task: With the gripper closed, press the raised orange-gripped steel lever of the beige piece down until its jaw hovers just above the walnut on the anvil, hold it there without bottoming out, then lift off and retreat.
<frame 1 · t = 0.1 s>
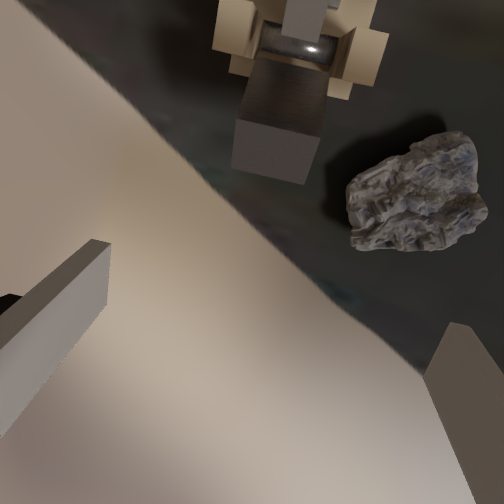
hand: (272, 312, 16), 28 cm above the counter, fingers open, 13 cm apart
rock: (404, 199, 42), on the counter
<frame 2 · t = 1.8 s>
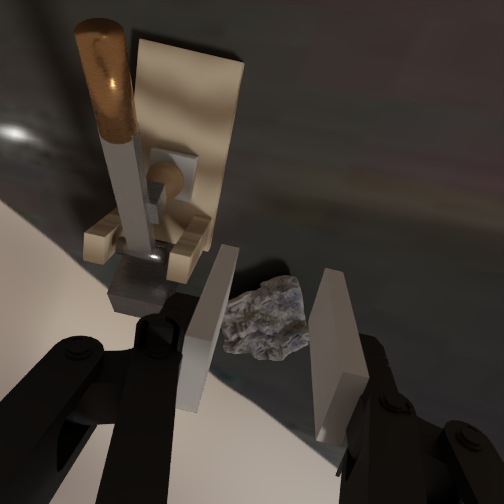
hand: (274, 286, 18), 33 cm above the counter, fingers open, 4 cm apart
lever: (134, 209, 36), point 15 cm above the counter, hinge at 34.0°
rock: (267, 313, 57), on the counter
beige piece: (180, 152, 49), on the counter
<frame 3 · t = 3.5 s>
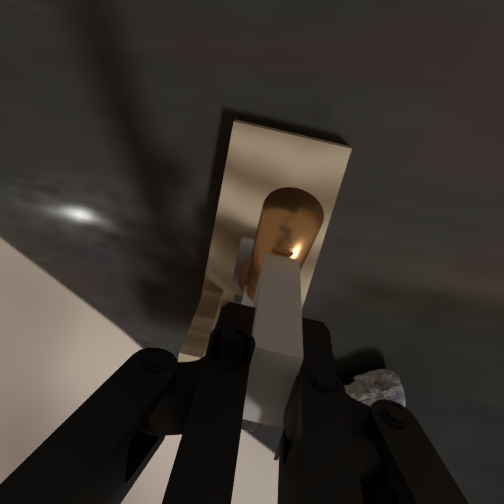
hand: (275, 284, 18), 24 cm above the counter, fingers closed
lever: (248, 339, 31), point 15 cm above the counter, hinge at 33.8°, touching gripper
rock: (354, 402, 52), on the counter
beige piece: (266, 237, 43), on the counter
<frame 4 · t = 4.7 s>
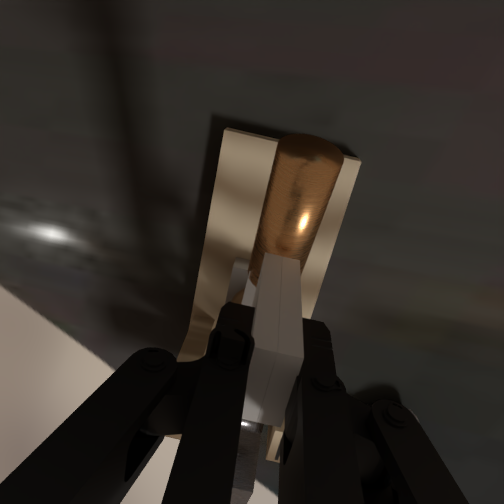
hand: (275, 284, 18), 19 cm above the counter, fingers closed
lever: (245, 367, 27), point 13 cm above the counter, hinge at 19.2°, touching gripper
beige piece: (263, 261, 38), on the counter
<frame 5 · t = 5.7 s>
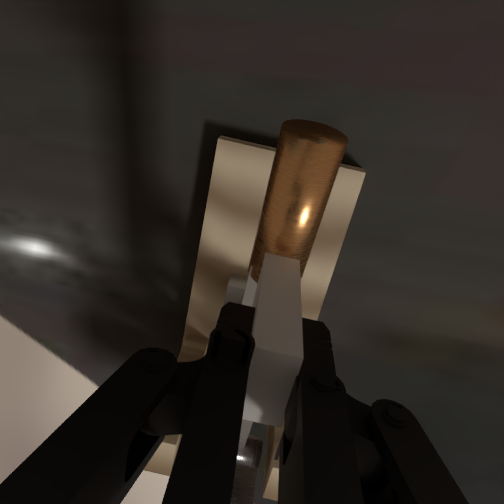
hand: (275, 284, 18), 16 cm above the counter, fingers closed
lever: (242, 386, 25), point 12 cm above the counter, hinge at 11.1°, touching gripper
beige piece: (260, 277, 36), on the counter
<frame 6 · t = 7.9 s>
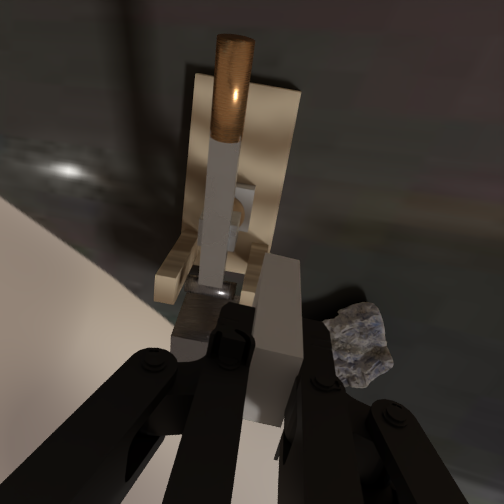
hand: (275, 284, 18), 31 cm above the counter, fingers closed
lever: (216, 230, 38), point 12 cm above the counter, hinge at 11.1°
rock: (342, 338, 57), on the counter
beige piece: (235, 182, 48), on the counter
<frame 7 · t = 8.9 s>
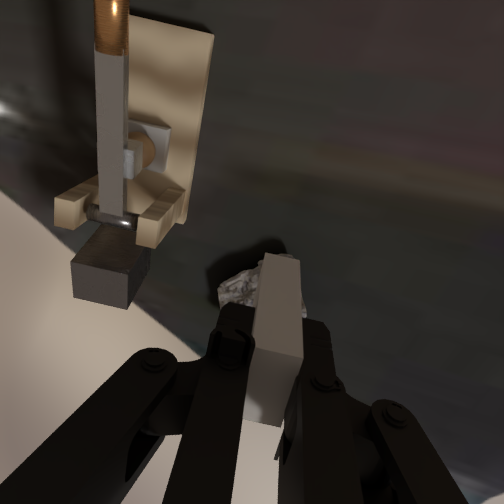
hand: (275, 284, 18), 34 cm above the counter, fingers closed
lever: (112, 154, 39), point 12 cm above the counter, hinge at 11.1°
rock: (265, 293, 58), on the counter
beige piece: (154, 125, 50), on the counter
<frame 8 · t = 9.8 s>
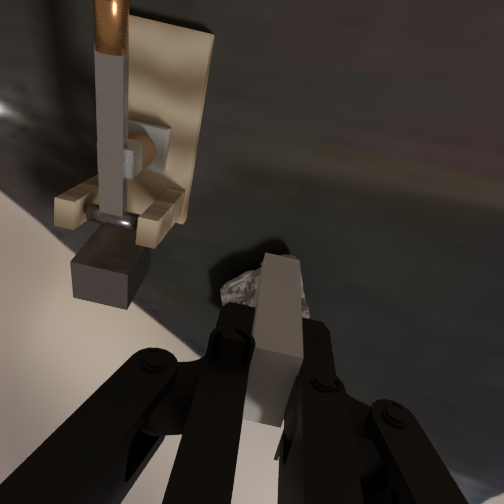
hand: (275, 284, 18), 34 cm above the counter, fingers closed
lever: (112, 154, 39), point 12 cm above the counter, hinge at 11.1°
rock: (268, 294, 58), on the counter
beige piece: (154, 125, 50), on the counter
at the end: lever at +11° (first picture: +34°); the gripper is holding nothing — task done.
